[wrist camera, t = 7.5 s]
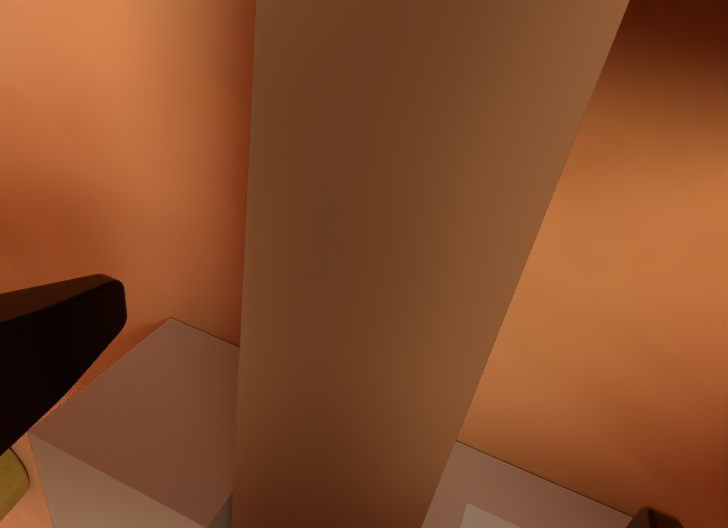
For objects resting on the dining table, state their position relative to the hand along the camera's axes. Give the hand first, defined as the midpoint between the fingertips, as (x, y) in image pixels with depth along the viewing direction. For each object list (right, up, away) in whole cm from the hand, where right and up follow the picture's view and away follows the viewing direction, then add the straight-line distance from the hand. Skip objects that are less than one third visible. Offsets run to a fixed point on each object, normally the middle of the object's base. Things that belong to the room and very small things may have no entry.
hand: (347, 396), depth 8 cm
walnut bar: (+1, +1, +2) cm, 3 cm away
